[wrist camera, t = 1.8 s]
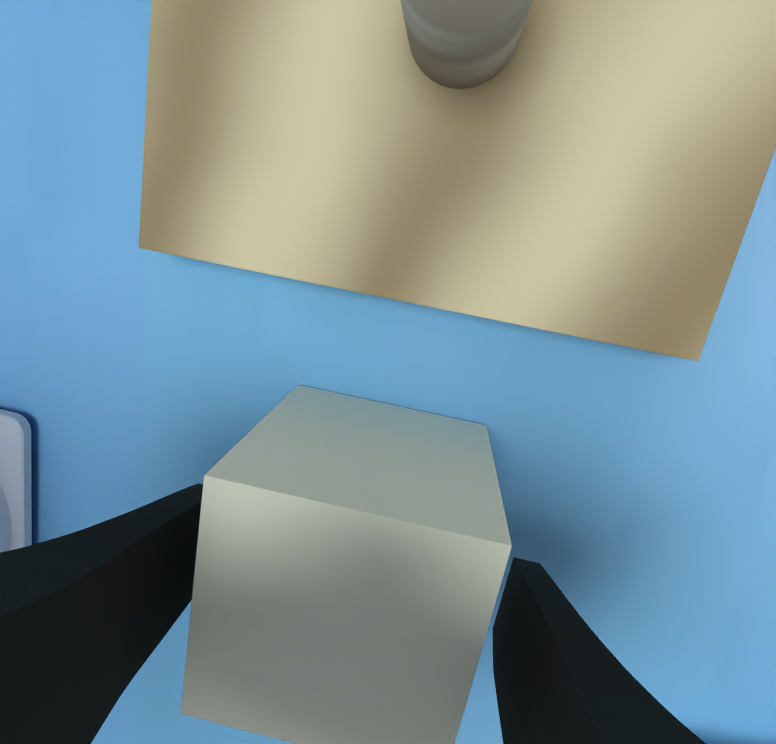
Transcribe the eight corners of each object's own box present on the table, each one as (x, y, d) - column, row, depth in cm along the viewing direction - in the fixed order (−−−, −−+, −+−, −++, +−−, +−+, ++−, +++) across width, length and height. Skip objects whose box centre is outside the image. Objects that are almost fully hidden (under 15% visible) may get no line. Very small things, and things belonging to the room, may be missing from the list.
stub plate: (169, 246, 14) (41, 249, 10) (207, -307, 11) (44, -681, 7) (671, 348, 13) (783, 402, 9) (868, -220, 10) (1199, -584, 6)
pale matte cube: (274, 547, 16) (180, 713, 11) (298, 384, 15) (203, 475, 9) (444, 587, 16) (443, 781, 10) (486, 425, 15) (511, 545, 9)
